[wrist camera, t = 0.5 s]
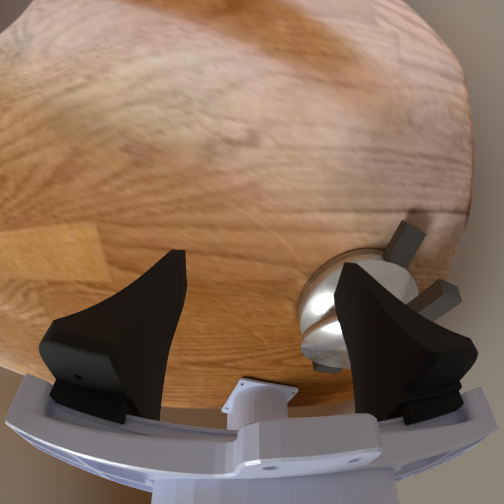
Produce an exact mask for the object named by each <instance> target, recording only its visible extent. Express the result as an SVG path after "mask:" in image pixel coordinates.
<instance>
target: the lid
mask: <svg viewBox="0 0 504 504" xmlns="http://www.w3.org/2000/svg"><path fill="white" fill-rule="evenodd" d="M461 302H462V300H461V296H460V293H459V289H458V287H457V286H454V285H452V284H450V283H448V282H445V281H443V280H441V279H438V280H437V281H436V282H434V283H433V284H432V285H431V286H429V287H428V288H427V289H426V290H424V291H423V292H422V293H420V294H419V295H418V296H417V297H415V298H414V299H413V300H411V301H410V302H409V303H407V304H406V305H407V306H408V307H410V308H411V309H413V310H414V311H415V312H417V313H419V314H420V315H422V316H423V317H425V318H427V319H428V320H430V321H432V322H433V321H434V320H436V319H438V318H439V317H441V316H442V315H444V314H445V313H447V312H448V311H449V310H451V309H452V308H453V307H455V306H457V305H458V304H459V303H461ZM301 351H302V353H303V355H304V356H305V357H306V358H308V359H309V360H311V361H313V362H315V363H318V364H321V365H325V366H330V367H337V368H351V365H350V359H349V355H348V351H347V348H346V344H345V341H344V338H343V335H342V331H341V328H340V325H339V322H338V319H337V315H336V314H333V315H330V316H328V317H326V318H323V319H321V320H319V321H317V322H316V323H314V324H313V325H311V326H310V327H309V328H308V329H307V330H306V331H305V332H304V333H303V336H302V341H301Z"/></svg>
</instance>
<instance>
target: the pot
mask: <svg viewBox="0 0 504 504" xmlns="http://www.w3.org/2000/svg"><path fill="white" fill-rule="evenodd" d="M425 236H426V234H425V233H424V232H422V231H421V230H420V229H418V228H416V227H414V226H412V225H411V224H409V223H407V222H405V221H403V220H402V221H401V223H400V224H399V226H398V228H397V230H396V232H395V234H394V235H393V237H392V239H391V241H390V243H389V244H388V246H387V248H386V250H385V251H382V250H377V249H358V250H354V251H349V252H347V253H344V254H341V255H339V256H337V257H335V258H333V259H331V260H330V261H328V262H326V263H325V264H324V265H322V266H321V267H320V268H319V269H318V270H316V271H315V272H314V273H313V274H312V276H311V277H310V278H309V279H308V281H307V282H306V284H305V285H304V287H303V289H302V291H301V293H300V296H299V300H298V306H297V309H298V317H299V323H300V328H301V333H302V336H303V333H304V332H305V331H306V330H307V329H308V328H309V327H310V326H311V325H313V324H314V323H316V322H317V321H319V320H321V319H323V318H326V317H328V316H330V315H333V314H336V310H335V304H334V298H333V296H334V293H335V290H336V286H337V283H338V280H339V277H340V274H341V271H342V268H343V264H344V262H349V263H357V264H358V265H359V266H361V267H362V268H363V269H364V270H365V271H367V272H368V273H369V274H370V275H371V276H372V277H373V278H374V279H376V280H377V281H378V282H379V283H380V284H381V285H382V286H383V287H385V288H386V289H387V290H388V291H389V292H390V293H392V294H393V295H394V296H395V297H397V298H398V299H399V300H400V301H402V302H403V303H404V304H405V305H406V304H407V303H409V302H410V301H411V300H413V299H414V298H415V297H417V296H418V295H419V292H418V287H417V284H416V282H415V280H414V278H413V277H412V276H411V274H410V273H409V272H408V270H407V269H406V268H407V266H408V265H409V263H410V261H411V260H412V258H413V256H414V255H415V253H416V251H417V250H418V248H419V246H420V244H421V243H422V241H423V239H424V237H425ZM312 363H313V368H314V371H319V372H325V373H332V374H338V373H339V372H340V371H341V370H342V368H337V367H330V366H325V365H321V364H318V363H315V362H313V361H312Z"/></svg>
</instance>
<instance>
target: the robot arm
mask: <svg viewBox="0 0 504 504" xmlns="http://www.w3.org/2000/svg"><path fill="white" fill-rule="evenodd" d="M186 290H187V277H186V258H185V250H174V249H172V250H171V251H169V252H168V253H167V254H166V255H165V256H164V257H163V258H161V259H160V260H159V261H158V262H157V263H156V264H155V265H154V266H153V267H151V268H150V269H149V270H148V271H147V272H146V273H144V274H143V275H142V276H140V277H139V278H138V279H137V280H135V281H134V282H133V283H131V284H130V285H129V286H127V287H126V288H124V289H123V290H121V291H120V292H118V293H116V294H115V295H113V296H111V297H109V298H108V299H106V300H104V301H102V302H100V303H98V304H96V305H94V306H92V307H90V308H87V309H85V310H82V311H80V312H77V313H75V314H72V315H69V316H66V317H62V318H59V319H56V320H54V321H53V322H52V324H51V325H50V327H49V329H48V330H47V332H46V334H45V335H44V337H43V339H42V340H41V342H40V344H39V352H40V355H41V357H42V359H43V361H44V363H45V364H46V366H47V367H48V368H49V370H50V371H51V373H52V374H53V376H54V377H55V378H56V381H55V383H54V386H53V385H52V384H50V383H49V382H47V381H45V380H43V379H40V378H38V377H35V376H33V375H31V374H26V375H25V377H24V379H23V381H22V383H21V385H20V387H19V389H18V392H17V394H16V397H15V398H14V400H13V403H12V405H11V407H10V410H9V412H8V414H7V417H6V420H5V423H6V424H7V425H8V426H9V427H11V428H12V429H13V430H14V431H15V432H17V433H18V434H19V435H20V436H22V437H23V438H24V439H25V440H27V441H28V442H29V443H31V444H32V445H33V446H35V447H36V448H38V449H40V450H42V451H44V452H46V453H48V454H50V455H52V456H54V457H56V458H58V459H60V460H62V461H65V462H67V463H69V464H71V465H74V466H76V467H78V468H81V469H83V470H85V471H88V472H91V473H93V474H95V475H98V476H101V477H104V478H106V479H109V480H112V481H115V482H118V483H121V484H124V485H127V486H131V487H134V488H138V489H142V490H145V491H149V492H153V495H152V502H151V504H399V501H398V495H397V489H396V484H395V482H397V481H399V480H403V479H405V478H408V477H411V476H414V475H416V474H419V473H421V472H424V471H426V470H428V469H431V468H433V467H436V466H438V465H440V464H442V463H445V462H447V461H449V460H451V459H453V458H456V457H458V456H460V455H462V454H464V453H466V452H467V451H469V450H470V449H472V448H473V447H475V446H476V445H477V444H479V443H480V442H482V441H483V440H484V439H486V438H487V437H488V436H490V435H491V434H492V433H494V432H495V431H496V430H497V429H498V426H497V423H496V420H495V418H494V415H493V413H492V411H491V408H490V406H489V404H488V401H487V399H486V397H485V394H484V392H483V390H482V388H481V387H479V388H476V389H473V390H470V391H467V392H465V393H464V394H462V395H460V392H459V390H460V389H461V387H462V385H461V383H460V379H462V377H463V376H464V375H465V374H466V373H467V372H468V371H469V369H470V368H471V367H472V366H473V364H474V363H475V361H476V359H477V356H478V351H477V349H476V348H475V346H474V344H473V342H472V340H471V339H470V338H468V337H465V336H462V335H460V334H457V333H455V332H452V331H450V330H448V329H446V328H443V327H441V326H439V325H437V324H436V323H434V322H432V321H430V320H428V319H427V318H425V317H423V316H422V315H420V314H419V313H417V312H415V311H414V310H413V309H411V308H410V307H408V306H407V305H405V304H404V303H403V302H402V301H400V300H399V299H398V298H397V297H395V296H394V295H393V294H392V293H390V292H389V291H388V290H387V289H386V288H385V287H383V286H382V285H381V284H380V283H379V282H378V281H377V280H376V279H374V278H373V277H372V276H371V275H370V274H369V273H368V272H367V271H365V270H364V269H363V268H362V267H361V266H359V265H358V264H357V263H349V262H344V264H343V268H342V271H341V274H340V277H339V280H338V283H337V286H336V290H335V293H334V296H333V298H334V304H335V310H336V315H337V319H338V322H339V325H340V328H341V331H342V335H343V338H344V341H345V344H346V348H347V351H348V355H349V359H350V365H351V371H352V378H353V387H354V398H355V414H346V415H336V416H324V417H309V418H288V407H287V403H288V402H289V401H290V400H291V399H292V398H293V397H294V395H295V394H296V393H297V392H298V391H299V390H298V388H297V387H292V386H286V385H280V384H274V383H268V382H263V381H257V380H252V379H247V378H241V379H240V380H239V382H238V383H237V385H236V387H235V388H234V390H233V392H232V393H231V395H230V396H229V398H228V400H227V401H226V403H225V405H224V406H223V408H222V412H224V413H228V422H227V429H215V428H204V427H195V426H187V425H180V424H173V423H167V422H161V421H160V410H161V400H162V392H163V384H164V378H165V371H166V365H167V360H168V354H169V350H170V346H171V343H172V339H173V336H174V333H175V330H176V327H177V324H178V321H179V318H180V315H181V312H182V309H183V305H184V300H185V295H186Z"/></svg>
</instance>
